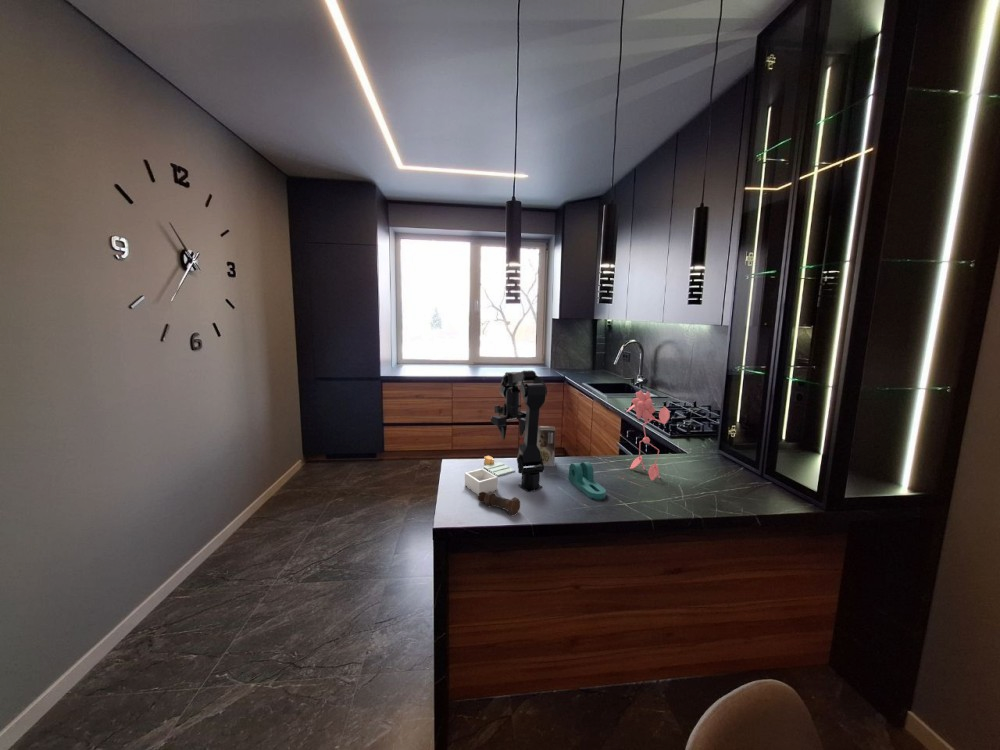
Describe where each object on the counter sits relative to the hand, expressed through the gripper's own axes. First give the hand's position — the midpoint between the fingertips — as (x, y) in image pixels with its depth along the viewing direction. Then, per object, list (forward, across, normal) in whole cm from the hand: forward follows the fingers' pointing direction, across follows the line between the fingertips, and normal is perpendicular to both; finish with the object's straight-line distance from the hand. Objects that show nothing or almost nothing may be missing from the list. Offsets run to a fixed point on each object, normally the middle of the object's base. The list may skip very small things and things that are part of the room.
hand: (512, 437), depth 166 cm
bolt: (+12, +27, +28) cm, 41 cm away
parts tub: (+12, +24, +12) cm, 29 cm away
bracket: (+12, -9, +35) cm, 38 cm away
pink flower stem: (+12, -35, +38) cm, 53 cm away
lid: (+12, +8, 0) cm, 14 cm away
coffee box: (+12, -12, +7) cm, 18 cm away
